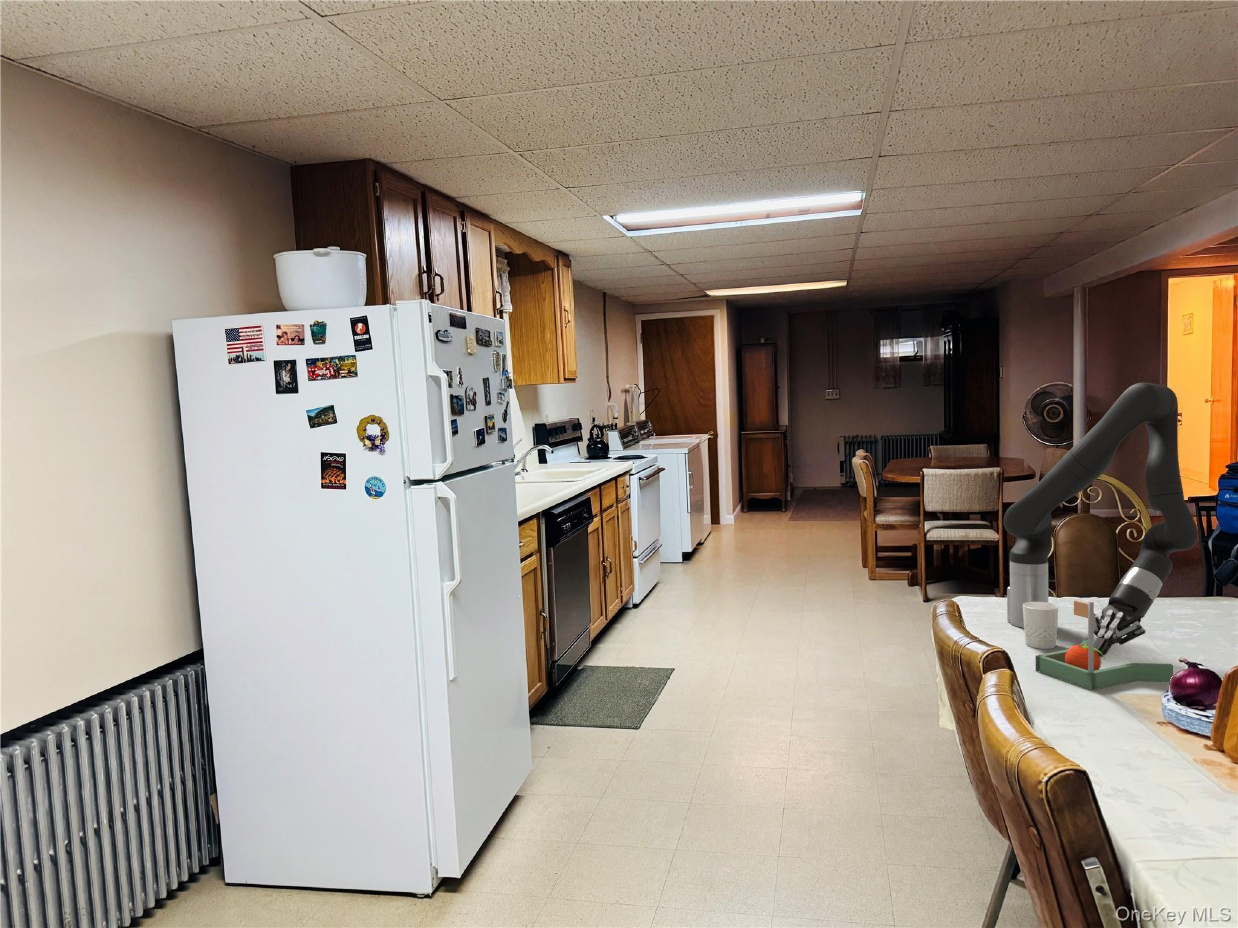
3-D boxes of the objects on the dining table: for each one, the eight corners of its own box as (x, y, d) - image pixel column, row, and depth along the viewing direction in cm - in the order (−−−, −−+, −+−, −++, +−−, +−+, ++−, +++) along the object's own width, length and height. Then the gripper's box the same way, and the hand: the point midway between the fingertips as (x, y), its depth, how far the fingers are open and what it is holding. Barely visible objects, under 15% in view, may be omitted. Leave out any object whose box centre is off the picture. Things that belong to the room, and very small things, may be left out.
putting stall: (1022, 665, 193) (1021, 586, 191) (1085, 653, 199) (1085, 576, 198) (1107, 695, 172) (1107, 607, 171) (1175, 681, 179) (1175, 595, 177)
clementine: (1110, 675, 183) (1110, 644, 183) (1101, 684, 178) (1101, 651, 178) (1070, 669, 189) (1070, 638, 188) (1060, 677, 184) (1060, 645, 184)
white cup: (1044, 651, 202) (1044, 610, 201) (1015, 644, 209) (1015, 604, 208) (1065, 646, 206) (1065, 606, 205) (1036, 638, 213) (1036, 600, 212)
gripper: (1100, 577, 193) (1061, 637, 190) (1155, 587, 181) (1114, 652, 177) (1117, 597, 195) (1079, 656, 192) (1172, 608, 183) (1132, 672, 180)
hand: (1096, 654), depth 185 cm, fingers closed
